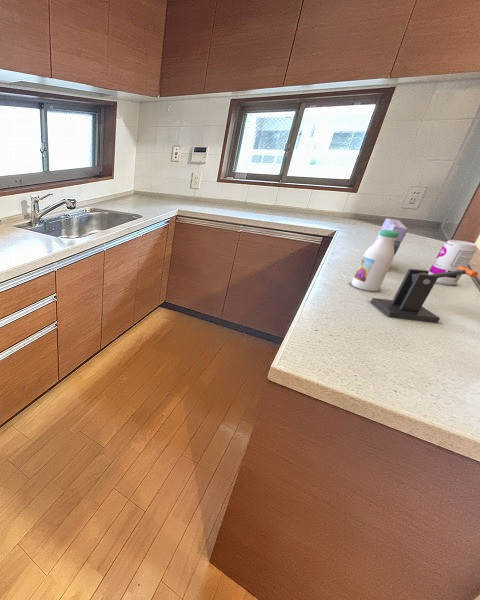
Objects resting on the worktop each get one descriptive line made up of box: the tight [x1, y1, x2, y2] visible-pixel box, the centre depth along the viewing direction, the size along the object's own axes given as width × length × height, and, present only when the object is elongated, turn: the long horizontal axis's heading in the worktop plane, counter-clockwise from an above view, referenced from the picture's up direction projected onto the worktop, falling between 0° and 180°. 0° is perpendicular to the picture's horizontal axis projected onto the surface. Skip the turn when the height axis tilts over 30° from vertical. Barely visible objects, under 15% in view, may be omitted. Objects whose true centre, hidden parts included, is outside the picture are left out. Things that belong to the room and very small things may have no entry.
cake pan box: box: [373, 217, 409, 257], centre depth 133 cm, size 19×5×18 cm, turn 147°
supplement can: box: [428, 239, 478, 286], centre depth 118 cm, size 8×8×15 cm
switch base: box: [370, 268, 441, 324], centre depth 95 cm, size 12×10×13 cm
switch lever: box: [412, 266, 479, 282], centre depth 91 cm, size 12×5×2 cm, turn 75°
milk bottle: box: [351, 230, 399, 292], centre depth 110 cm, size 8×8×20 cm
